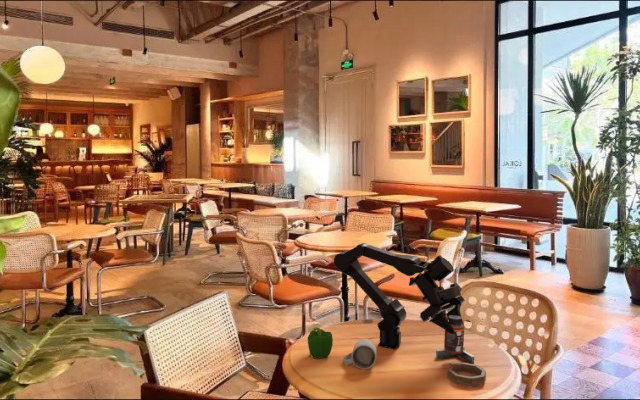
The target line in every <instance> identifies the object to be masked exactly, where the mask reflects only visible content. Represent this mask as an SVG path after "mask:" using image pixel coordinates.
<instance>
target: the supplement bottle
mask: <svg viewBox="0 0 640 400" xmlns="http://www.w3.org/2000/svg"><path fill="white" fill-rule="evenodd" d="M461 317H462V316H461ZM461 317H460V316H456V315H451V316H449V317H448V318H447V319H448V321H449V323H450V324H451V326H452V328H453V330H454V333H453V334H451V333H449V332H448V331H446V330H445V329H444V338H443V339H444V341H443V342H444V344H443V349H444V350H445V351H446V352H447V353H450V354H461V353H462V352H463V346H464V341H465V338H464V337H465V328H464V326H465V324H464V325H463V324H462V323H461V322H462V320H463V318H461Z"/></svg>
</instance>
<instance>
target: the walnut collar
mask: <svg viewBox="0 0 640 400" xmlns="http://www.w3.org/2000/svg"><path fill="white" fill-rule="evenodd" d="M448 366H449V367H448V368H447V375H446V377H447V379H448V380H449V381H451V382H452V383H454V384H455V385H459V386H464V387H470V388H473V387H478V386H484V385H485V382H486V379H487V370H486V369H484V368H482V367H481V366H480V365H478V364H475V363H474V364H470V363H468V362H464V361H463V362H456V363H451V364H449V365H448ZM462 372H463V373H469V374H475V375H474V376H469V375H468V376H467V375H462V374H458V373H462Z"/></svg>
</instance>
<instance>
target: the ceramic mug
mask: <svg viewBox="0 0 640 400" xmlns="http://www.w3.org/2000/svg"><path fill="white" fill-rule="evenodd" d="M342 362H343V364H344V365H347V366H348V365H351V364H353V365H354V366H355V368H358V369H360V370H369V369H371V368H372V367H373V366H374V365H375V363H376V362H377V348H376V346H375V343H374V342H372V341H371V340H370V339H369V338H368V339H367V338H361V339H359V340H358V341H357V342H356V343H355V344H354V346H353V350H352V352H350V353H348V354H346V355H345V356H343V358H342Z"/></svg>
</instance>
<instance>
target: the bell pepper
mask: <svg viewBox="0 0 640 400" xmlns="http://www.w3.org/2000/svg"><path fill="white" fill-rule="evenodd" d="M307 345H308V351H309V355H310V356H311V357H312V358H313V359H322V358H328V357H329V356H330V354H331V351H332V348H333V345H334V340H333V334H332V332H331V331H326V330H323V329H322V328H320V327H317V326H316V327H314V328H312V330H310V332H309V334H308V335H307Z"/></svg>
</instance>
